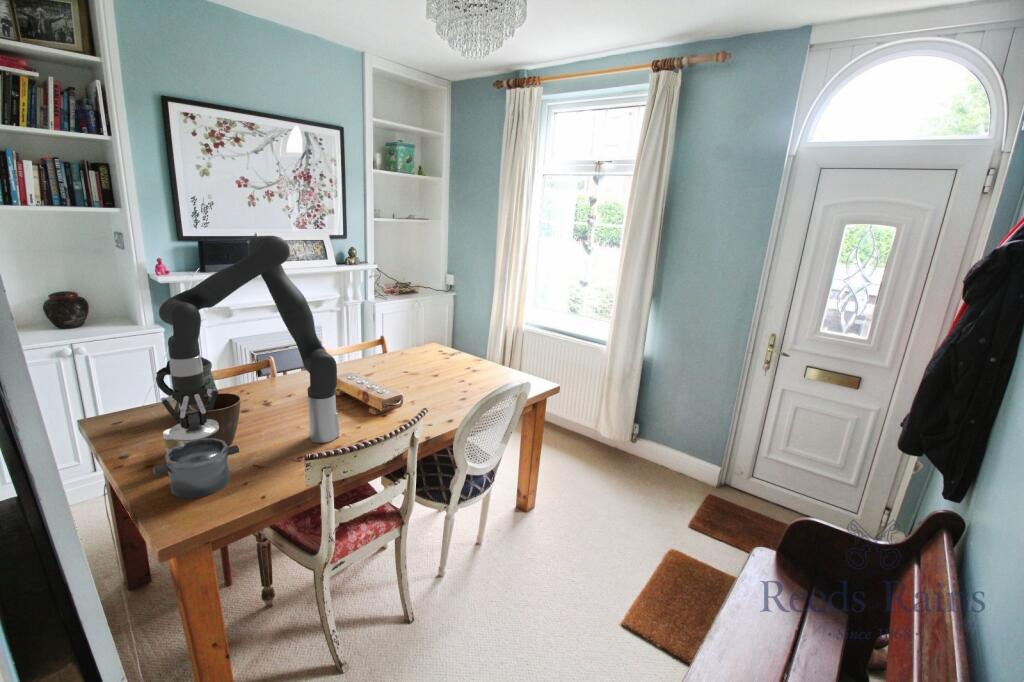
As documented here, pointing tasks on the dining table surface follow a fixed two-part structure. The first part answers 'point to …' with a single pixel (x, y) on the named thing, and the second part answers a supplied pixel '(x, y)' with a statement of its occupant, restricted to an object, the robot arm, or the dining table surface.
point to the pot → (197, 467)
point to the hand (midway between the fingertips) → (194, 425)
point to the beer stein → (166, 371)
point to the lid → (193, 428)
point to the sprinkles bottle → (169, 441)
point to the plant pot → (223, 415)
